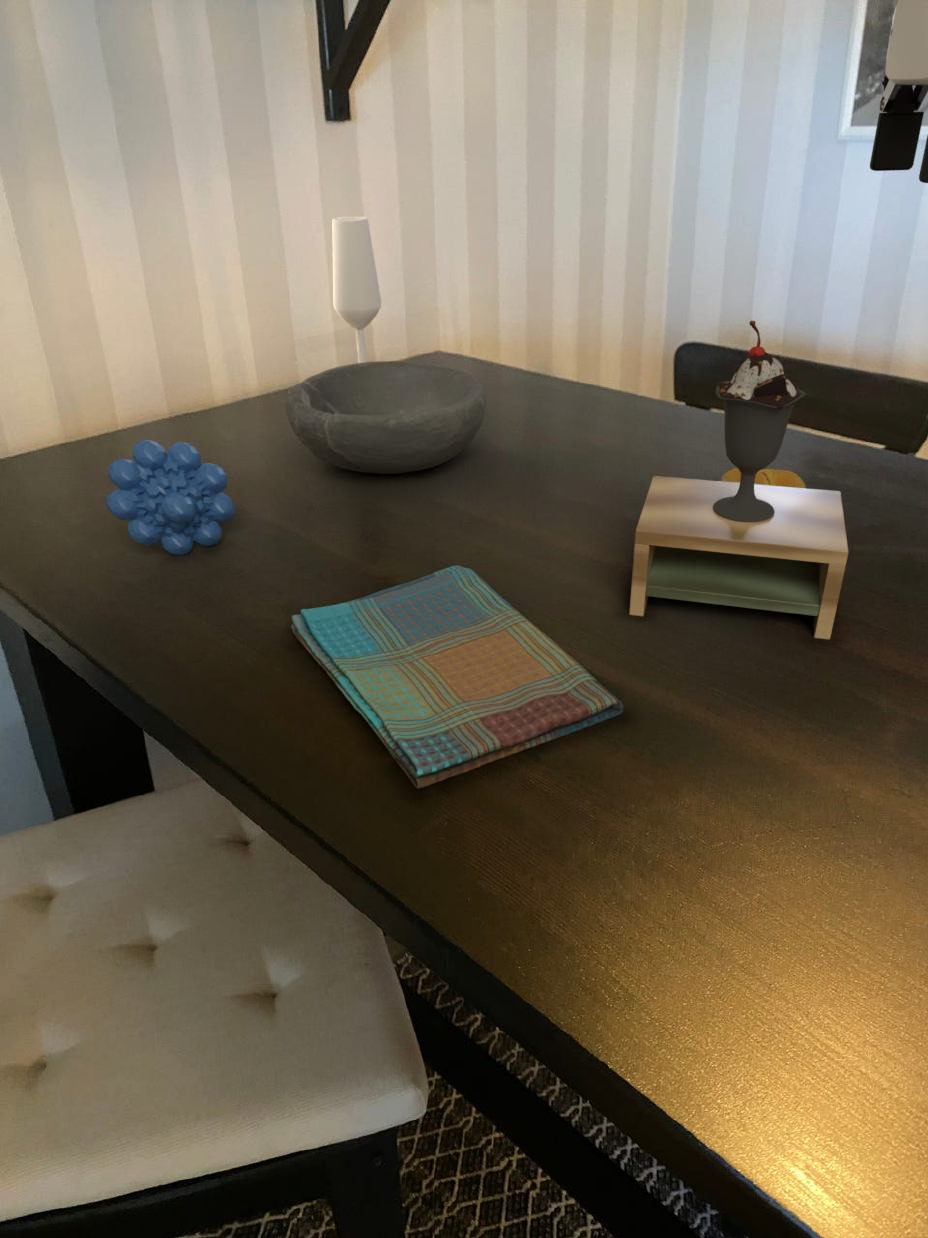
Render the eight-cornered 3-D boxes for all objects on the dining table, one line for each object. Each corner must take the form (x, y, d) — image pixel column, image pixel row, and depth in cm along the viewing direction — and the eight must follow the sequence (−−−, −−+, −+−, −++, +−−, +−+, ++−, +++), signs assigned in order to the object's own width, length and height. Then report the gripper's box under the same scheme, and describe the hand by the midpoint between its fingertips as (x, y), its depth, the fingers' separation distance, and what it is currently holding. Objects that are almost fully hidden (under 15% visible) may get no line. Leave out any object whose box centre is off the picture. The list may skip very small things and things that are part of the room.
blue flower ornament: (131, 587, 83) (101, 464, 77) (117, 558, 88) (88, 441, 82) (253, 557, 88) (234, 439, 82) (233, 531, 93) (214, 418, 87)
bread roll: (813, 520, 91) (820, 483, 89) (724, 520, 92) (728, 484, 90) (793, 488, 98) (799, 453, 96) (710, 489, 99) (714, 454, 97)
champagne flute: (369, 405, 128) (353, 223, 116) (332, 398, 131) (314, 220, 119) (397, 393, 133) (385, 216, 121) (361, 386, 136) (346, 214, 124)
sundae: (719, 488, 79) (741, 311, 71) (795, 504, 76) (827, 320, 68) (688, 515, 74) (708, 329, 67) (768, 533, 71) (799, 340, 63)
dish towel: (469, 582, 82) (468, 557, 81) (628, 715, 64) (631, 686, 63) (290, 634, 75) (286, 608, 74) (412, 799, 57) (410, 769, 56)
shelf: (829, 641, 72) (848, 551, 68) (629, 616, 76) (635, 530, 72) (824, 572, 82) (840, 490, 78) (646, 554, 86) (653, 475, 82)
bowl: (449, 513, 95) (445, 422, 90) (262, 492, 102) (248, 405, 97) (510, 440, 114) (510, 361, 109) (348, 426, 121) (341, 351, 115)
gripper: (1112, -150, 51) (1024, 186, 60) (974, -98, 66) (919, 164, 74) (976, -144, 51) (908, 189, 60) (869, -94, 66) (827, 167, 75)
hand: (914, 175), depth 67 cm, fingers open, 9 cm apart
